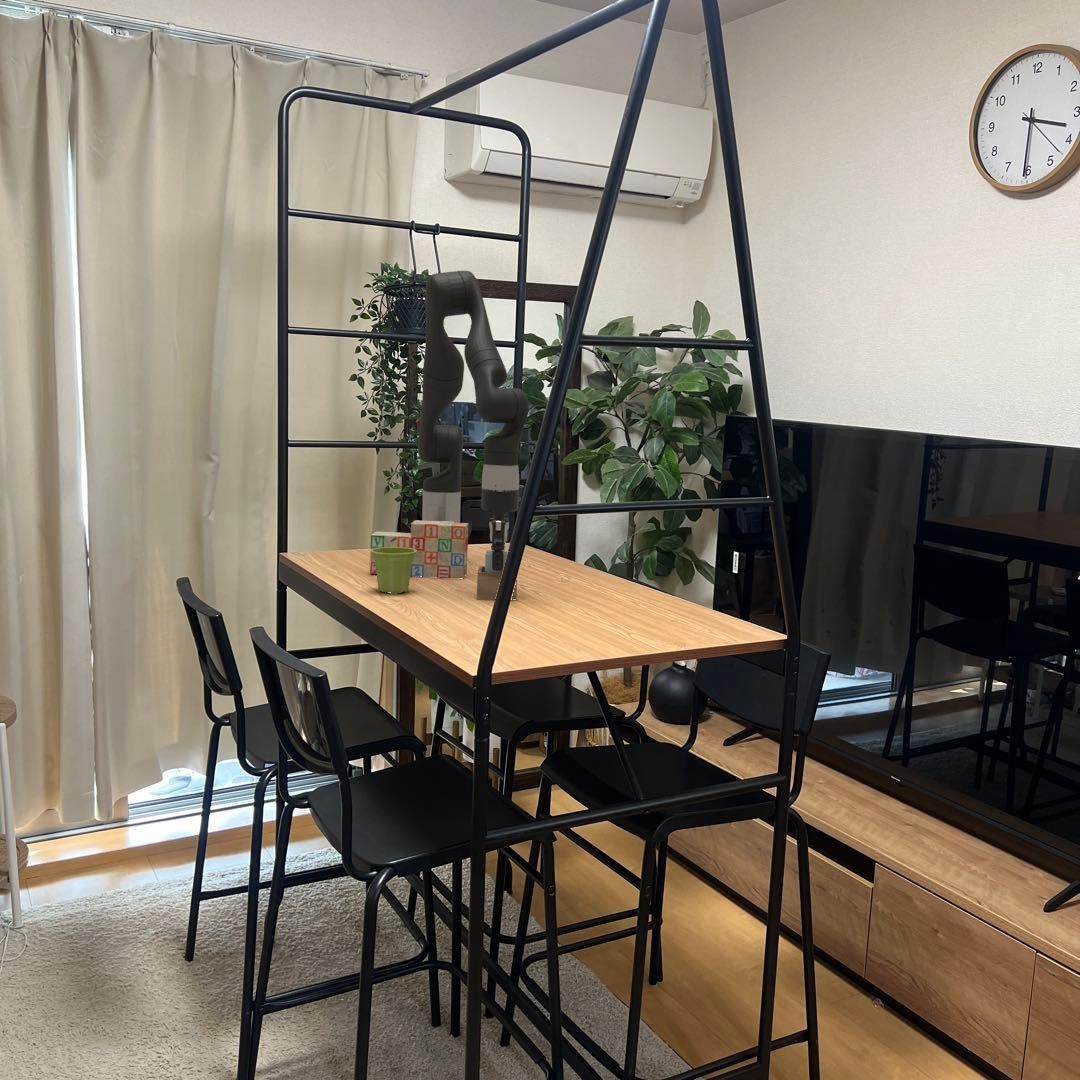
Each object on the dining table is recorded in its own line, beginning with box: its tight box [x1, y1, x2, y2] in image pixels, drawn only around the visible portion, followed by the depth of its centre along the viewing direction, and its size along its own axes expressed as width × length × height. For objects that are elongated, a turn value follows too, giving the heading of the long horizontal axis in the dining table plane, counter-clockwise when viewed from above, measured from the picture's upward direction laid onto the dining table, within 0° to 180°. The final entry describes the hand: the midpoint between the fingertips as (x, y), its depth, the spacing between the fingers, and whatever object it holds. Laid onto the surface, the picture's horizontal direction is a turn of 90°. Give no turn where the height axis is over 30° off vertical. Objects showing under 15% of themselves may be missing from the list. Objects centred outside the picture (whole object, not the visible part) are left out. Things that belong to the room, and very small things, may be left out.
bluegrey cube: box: [484, 550, 509, 573], centre depth 216 cm, size 5×5×5 cm
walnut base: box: [476, 565, 518, 601], centre depth 216 cm, size 8×8×6 cm
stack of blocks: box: [369, 519, 469, 580], centre depth 237 cm, size 21×6×12 cm, turn 87°
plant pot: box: [370, 547, 417, 594], centre depth 217 cm, size 9×9×9 cm
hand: (497, 566), depth 216 cm, fingers open, 7 cm apart
